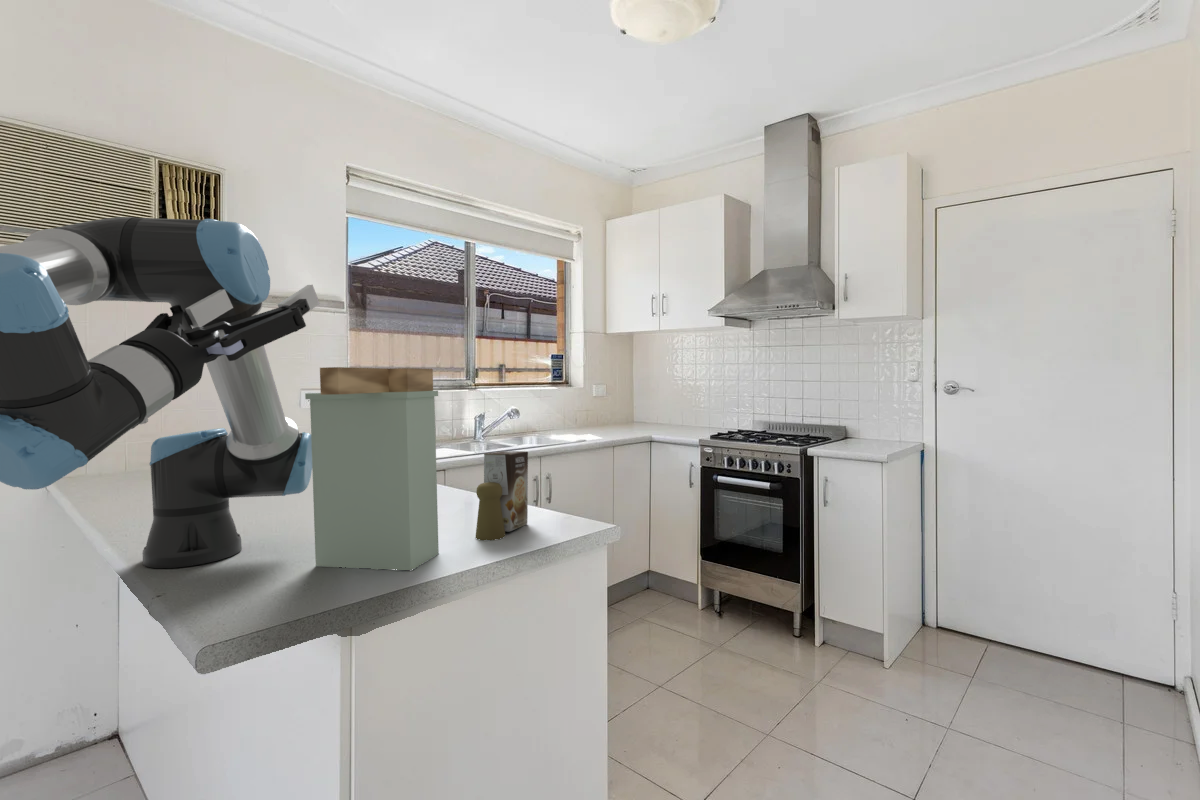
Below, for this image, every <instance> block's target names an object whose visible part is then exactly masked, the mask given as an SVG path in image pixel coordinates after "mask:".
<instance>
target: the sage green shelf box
mask: <svg viewBox="0 0 1200 800" xmlns="http://www.w3.org/2000/svg"><path fill="white" fill-rule="evenodd" d="M304 395H305V400H309V403H310V404H309V405H310V406H309V407H310V409H309V410H310V413H309V414H310V434H311V442H312V492H313V493H312V494H313V497H312V498H313V522H314V523H313V524H314V525H313V527H314V528H313V529H314V550H315V551H314V552H315V553H314V555H315V556H314V558H315V567H322V568H323V567H324V568H326V567H328V568H339V567H342V568H343V569H359V568H371V569H370V570H378V569H395V570H394V571H397V570H412V569H414V568H415V569H417V568H419V567H420V566H422V565H423V564H425V563H427V562H428V561H429V559H430V560H432V559H433V558H434V557H436V556H438V555H439V551H440V550H439V523H438V522H439V521H438V519H439V515H438V513H439V512H438V482H437V479H438V478H437V445H436V444H437V442H436V441H437V440H436V410H435V409H436V406H435V404H436V403H435V401H436V400H435V397H439V390H433V391H416V392H381V393H359V394H334V395H321V392H308V393H304ZM435 555H436V556H435ZM432 557H433V558H432ZM427 560H428V561H427ZM424 562H425V563H424ZM422 563H423V564H422ZM421 564H422V565H421ZM419 565H420V566H419ZM345 567H346V568H345ZM416 567H417V568H416ZM342 568H341V569H342ZM396 569H397V570H396ZM415 569H414V570H415ZM412 571H413V570H412Z"/></svg>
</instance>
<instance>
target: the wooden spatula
mask: <svg viewBox="0 0 1200 800" xmlns="http://www.w3.org/2000/svg"><path fill="white" fill-rule="evenodd" d="M319 380H320V381H319V383H320V386H319V387H320V393H321V395H334V394H359V393H381V392H416V391H434V371H433V368H419V367H418V368H417V367H415V368H414V367H412V368H411V367H405V368H404V367H402V368H400V367H398V368H397V367H395V368H389V367H387V368H384V367H382V368H379V367H378V368H377V367H346V366H345V367H344V366H343V367H341V366H337V367H335V366H334V367H333V366H332V367H331V366H330V367H319Z"/></svg>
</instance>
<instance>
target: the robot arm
mask: <svg viewBox="0 0 1200 800" xmlns="http://www.w3.org/2000/svg"><path fill="white" fill-rule="evenodd" d="M258 239H259V238H257V236H256V235H255V234H254V233H253V232H252V231H251V229H249V228H247V227H246V226H245V225H244V224H241V223H239V222H235V221H224V220H218V219H214V218H204V219H190V218H189V219H184V218H183V219H182V218H159V217H158V218H156V217H138V216H137V217H136V216H135V217H134V216H116V217H108V218H107V217H106V218H102V219H95V220H89V221H83V222H77V223H72V224H67V225H63V226H57V227H53V228H52V227H51V228H45V229H42V230H38V231H35V232H32V233H31V234H30V235H28V236H26V238H24V240H23V241H22V242H17V243H11V244H6V245H1V246H0V483H2V484H5V485H7V486H9V487H12V488H19V489H23V490H27V491H28V490H40V489H44V488H47V487H49V486H51V485H52V484H54V483H56V482H57V481H58V482H59V480H61V479H62V478H64V477H65V476H67V475H69V474H70V473H72V472H74V471H75V470H77V469H78V468H82V467H85V465H87V464H88V462H90V461H91V460H92V459H93V458H95V457H96V456H98V454H100V453H101V452H103V451H104V450H106V449H107V448H108V447H109V446H110V445H112V444H113V443H114V442H116V441H118V439H120V438H121V437H122V436H123V435H125V434H126V433H128V432H129V431H130V430H133V429H135V428H136V427H137V426H139V425H143V424H144V425H145V424H147V423H148V422H149V418H150V417H152V416H153V415H154V414H156V413H157V412H159V411H160V410H162V409H163V408H164V407H166V406H168V405H169V404H171V402H172V401H175V400H177V399H178V398H179V397H180V396H182V395H184V394H185V393H186V392H188V391H189V390H191V389H192V388H194V387H196V385H197V384H199V382H200V381H201V379H202V376H203V370H204V366H205V364H206V367H207V370H208V373H209V375H210V377H211V380H212V383H213V386H214V388H215V391H216V393H217V395H218V396H217V397H218V400H219V401H220V404H221V405H222V406H221V407H222V408H223V409H222V410H223V412H224V414H225V417H226V420H227V422H228V425H229V428H230V432H229V433H228V431H227V430H226V428H224V427H222V428H221V427H220V428H212V429H206V430H205V429H204V430H198V431H193V432H191V431H190V432H187V433H186V432H185V433H179V434H173V435H168V436H163V437H159V438H157V439H155V440H154V441H153V442H152V444H151V446H150V460H149V461H150V462H149V466H150V477H151V478H150V481H151V496H152V500H151V501H152V522H151V526H150V530H149V533H148V536H147V540H146V543H145V547H143V550H142V565H144V567H148V568H151V569H152V568H153V569H171V568H172V569H173V568H176V569H177V568H184V567H192V566H198V565H203V564H209V563H212V562H217V561H220V560H223V559H228V558H230V557H232V556H234V555H237V554H238V553H240V552H241V551H242V549H243V548H242V547H243V546H242V536H241V535H240V534H239V533H238V531H237V527H236V524H235V521H234V518H233V516H232V514H231V511H230V498H233V499H234V498H236V499H237V498H257V497H261V498H262V497H280V496H281V497H285V496H288V495H296V494H300V493H303V492H305V491H306V490H307V489H308V486H309V485H310V481H311V477H312V474H313V472H312V442H311V433H308V432H305V431H302V432H299V429H298V426H297V424H296V423H295V421H294V420H293V419H291V418H289V417H288V416H285V412H284V409H283V406H282V402H281V399H280V396H279V393H278V392H279V391H278V389H277V386H276V385H277V384H276V381H275V379H274V375H273V372H272V368H271V365H270V361H269V358H268V355H267V351H266V347H265V346H266V345H268V344H270V343H272V342H274V341H276V340H277V341H278V340H279V339H281V338H284V337H285V336H288V335H291V334H293V333H296V332H299V330H303V329H304V328H306V327H307V324H306V322H305V321H306V320H305V319H304V317H303V316H305V315H306V314H308V313H309V312H311V311H312V310H313V309H315V308H316V307H317V306H319V305H320V304H321V303H320V300H319V298H318V296H317V293H316V290H315V288H314V285H313V284H307V285H305V286H303V287H302V288H301V289H299V290H297V291H295V292H294V293H292V294H291V295H290V296H288V297H287V298H285V299H284V300H282V301H281V302H279V303H277V307H276V308H273V309H270V310H267V311H263V312H261V310H262V308H263V302H265V301H266V300H267V299H268V297H269V294H270V290H271V277H270V275H269V270H270V269H269V264H268V260H267V258H266V254H265V251H264V249H263V246H262V245H261V243H260V241H259V240H258ZM99 301H101V302H102V301H106V302H108V301H109V302H110V301H111V302H112V301H113V302H118V301H119V302H139V303H141V302H146V303H169V304H170V307H169V309H170V311H171V314H172V315H169V313H167V312H165V313H164V312H162V313H160V314H158V315H156V317H154V319H153V320H152V321H151V322H150V323H149V324H148V325H147V326H146V328H144V329H143V330H142V331H140V332H138V333H136V334H135V335H133V336H131V337H129V338H127V339H125V340H124V341H122V342H120V343H119V344H117V345H114V346H111V347H110V348H108V349H106V350H103V351H102V352H100V353H99V354H97V355H95V356H93V357H91V358H90V359H87V356H86V354H85V352H84V349H83V347H82V344H81V341H80V340H79V337H78V335H77V332H76V330H75V328H74V325H73V322H72V320H71V318H70V315H69V308H68V306H82V305H86V304H89V303H93V302H99ZM259 312H260V313H259Z"/></svg>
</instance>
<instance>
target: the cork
mask: <svg viewBox="0 0 1200 800" xmlns="http://www.w3.org/2000/svg"><path fill="white" fill-rule="evenodd" d="M475 492H476V496H477V499H479V503H478V510H477V518H476V527H475V539H476V538H477V539H476V540H478V539H480V540H479V541H484V540H490V541H496V540H495V539H498V540H501V539H500V538H502V539H504V538H505V537H506V536H505V535H506V531H505V529H504V522H503V516H502V509H501V503H500V497H501V496H502V487H501V485H500V484H499V483H495V482H486V483H484V482H483V483H480V484H478V485H477V487H476V491H475ZM503 537H504V538H503Z"/></svg>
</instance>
